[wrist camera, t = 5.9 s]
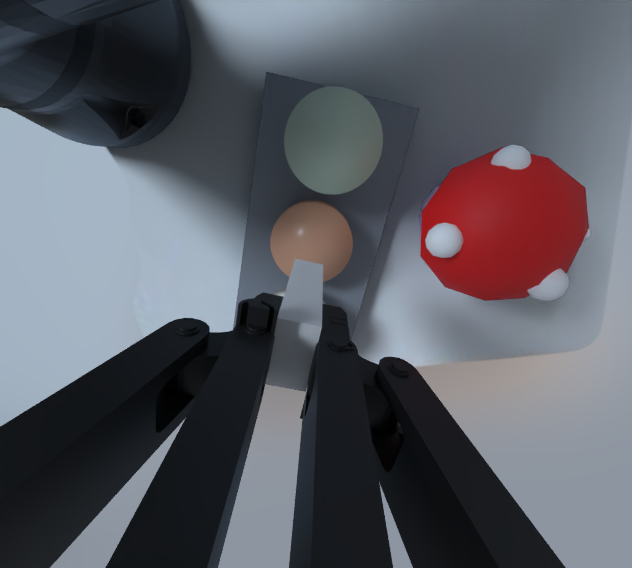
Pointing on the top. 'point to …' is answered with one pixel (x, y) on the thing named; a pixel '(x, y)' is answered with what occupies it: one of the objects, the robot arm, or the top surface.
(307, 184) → the sage cap
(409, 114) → the button board
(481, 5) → the top surface
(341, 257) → the terracotta cap
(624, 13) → the top surface
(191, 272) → the top surface
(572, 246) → the mushroom
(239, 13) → the top surface
